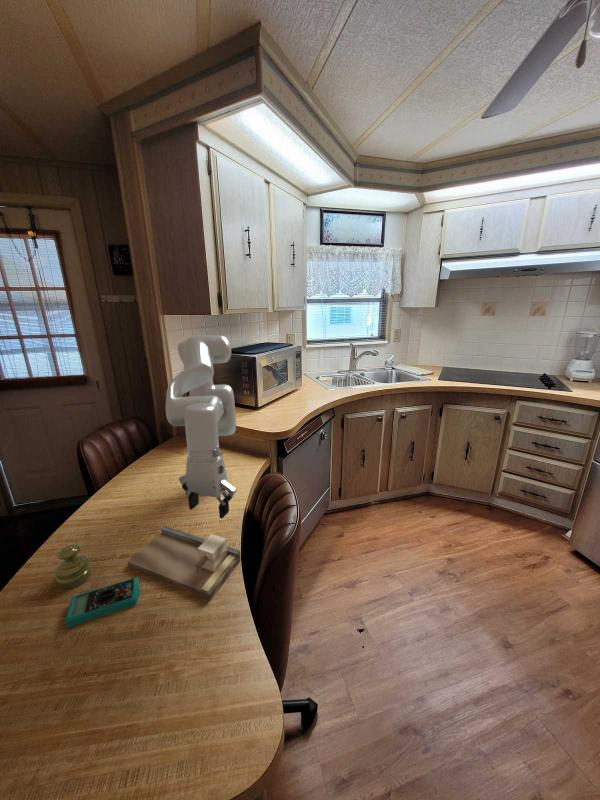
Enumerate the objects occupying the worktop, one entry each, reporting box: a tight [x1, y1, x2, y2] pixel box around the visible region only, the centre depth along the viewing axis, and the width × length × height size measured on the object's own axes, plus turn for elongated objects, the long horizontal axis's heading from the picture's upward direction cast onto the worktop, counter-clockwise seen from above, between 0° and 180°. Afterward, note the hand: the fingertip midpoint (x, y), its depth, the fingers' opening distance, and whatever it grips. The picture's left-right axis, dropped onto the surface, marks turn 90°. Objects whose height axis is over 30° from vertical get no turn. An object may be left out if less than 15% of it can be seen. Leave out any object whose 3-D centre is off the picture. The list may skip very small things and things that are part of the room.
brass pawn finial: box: [54, 543, 92, 590], centre depth 81 cm, size 7×7×10 cm
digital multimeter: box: [65, 577, 141, 629], centre depth 75 cm, size 7×15×3 cm, turn 115°
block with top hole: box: [196, 534, 228, 572], centre depth 83 cm, size 9×5×6 cm, turn 159°
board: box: [126, 525, 242, 601], centre depth 87 cm, size 14×28×4 cm, turn 68°
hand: (209, 510), depth 81 cm, fingers open, 9 cm apart
